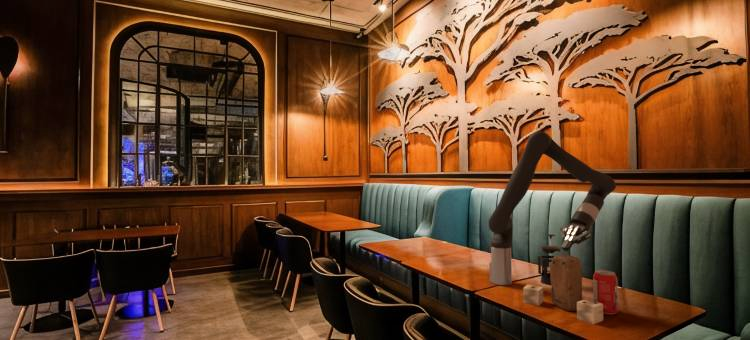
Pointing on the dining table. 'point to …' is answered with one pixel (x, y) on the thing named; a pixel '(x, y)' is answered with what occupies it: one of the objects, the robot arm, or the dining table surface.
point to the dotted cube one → (533, 295)
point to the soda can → (606, 290)
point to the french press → (546, 249)
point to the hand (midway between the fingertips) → (564, 249)
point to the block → (566, 281)
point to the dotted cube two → (590, 311)
